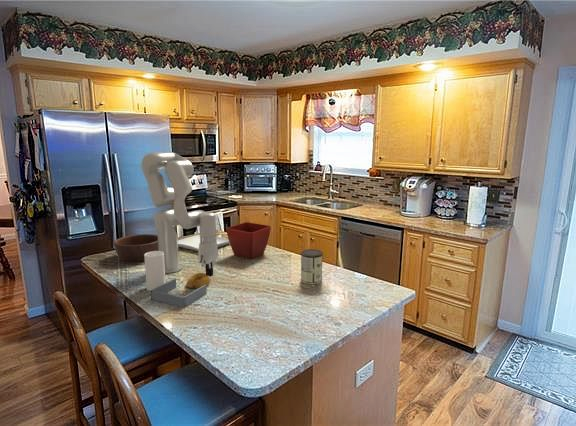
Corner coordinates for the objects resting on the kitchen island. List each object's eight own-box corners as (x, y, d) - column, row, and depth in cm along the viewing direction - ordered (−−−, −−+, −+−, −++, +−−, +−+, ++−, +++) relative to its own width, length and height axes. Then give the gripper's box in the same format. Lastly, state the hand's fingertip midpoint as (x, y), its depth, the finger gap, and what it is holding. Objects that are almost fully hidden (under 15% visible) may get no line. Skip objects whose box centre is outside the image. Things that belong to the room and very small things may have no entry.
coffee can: (305, 275, 183) (305, 248, 181) (324, 278, 179) (325, 250, 176) (297, 282, 174) (297, 253, 171) (317, 285, 170) (318, 256, 167)
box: (150, 299, 154) (150, 290, 153) (174, 286, 167) (174, 278, 167) (184, 307, 147) (183, 297, 146) (206, 293, 160) (206, 284, 160)
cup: (169, 285, 169) (167, 252, 166) (157, 292, 162) (155, 257, 158) (154, 282, 172) (152, 250, 169) (142, 289, 164) (140, 255, 161)
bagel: (182, 284, 170) (182, 275, 170) (204, 279, 177) (204, 270, 176) (191, 291, 163) (190, 281, 162) (213, 286, 169) (213, 276, 168)
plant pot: (252, 262, 202) (251, 232, 199) (225, 256, 212) (225, 228, 209) (271, 253, 218) (271, 225, 215) (246, 248, 228) (246, 221, 225)
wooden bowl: (170, 256, 211) (169, 239, 209) (128, 267, 193) (126, 248, 191) (148, 248, 227) (147, 231, 225) (107, 257, 209) (106, 239, 207)
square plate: (202, 255, 214) (202, 249, 214) (171, 247, 229) (171, 241, 228) (233, 244, 237) (233, 238, 236) (203, 238, 251) (203, 232, 251)
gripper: (210, 234, 181) (212, 269, 185) (191, 241, 168) (193, 279, 171) (223, 235, 178) (224, 271, 182) (205, 243, 165) (206, 282, 168)
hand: (209, 275), depth 177 cm, fingers closed
